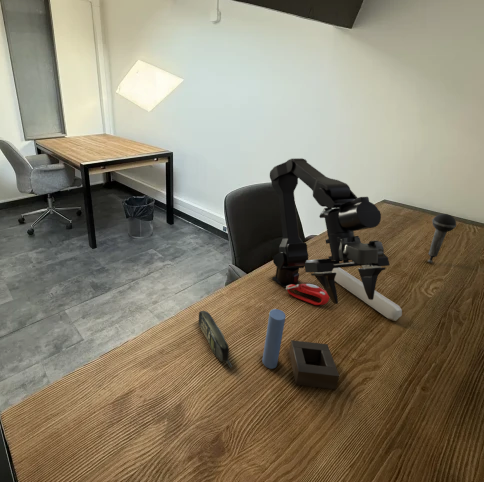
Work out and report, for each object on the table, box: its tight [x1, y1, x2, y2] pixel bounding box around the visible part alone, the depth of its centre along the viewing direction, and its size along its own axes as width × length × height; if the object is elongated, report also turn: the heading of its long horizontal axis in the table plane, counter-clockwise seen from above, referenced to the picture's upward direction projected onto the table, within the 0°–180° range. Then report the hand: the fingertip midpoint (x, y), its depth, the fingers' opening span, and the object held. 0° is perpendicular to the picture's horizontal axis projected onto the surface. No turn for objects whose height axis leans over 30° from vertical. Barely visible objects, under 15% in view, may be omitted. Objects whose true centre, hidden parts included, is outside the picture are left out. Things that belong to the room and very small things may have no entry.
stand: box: [288, 340, 340, 390], centre depth 68 cm, size 8×8×4 cm
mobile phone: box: [197, 310, 233, 369], centre depth 74 cm, size 5×3×15 cm
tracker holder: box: [285, 283, 330, 306], centre depth 92 cm, size 12×4×10 cm
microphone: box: [427, 213, 457, 264], centre depth 111 cm, size 7×7×20 cm
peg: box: [262, 308, 286, 370], centre depth 68 cm, size 3×3×14 cm
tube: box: [332, 267, 403, 322], centre depth 94 cm, size 5×5×25 cm
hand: (353, 301), depth 69 cm, fingers open, 9 cm apart
